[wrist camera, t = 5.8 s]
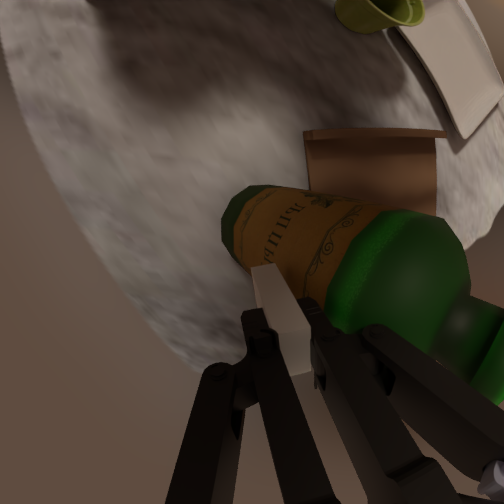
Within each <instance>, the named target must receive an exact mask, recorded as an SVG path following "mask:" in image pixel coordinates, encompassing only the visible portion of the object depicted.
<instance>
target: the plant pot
mask: <svg viewBox="0 0 504 504" xmlns="http://www.w3.org/2000/svg"><path fill="white" fill-rule="evenodd" d="M335 13H336V16H337V17H338V19H339V20H340V22H341V23H342V24H343V25H345V26H346V27H347V28H348V29H350V30H352V31H355V32H359V33H362V34H370V33H372V32H376V31H379V30H382V29H386V28H389V27H393V26H409V27H412V26H417V25H419V24H421V23H422V22H423V20H424V17H425V8H424V4H423V1H422V0H337V1H336V3H335Z"/></svg>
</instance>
